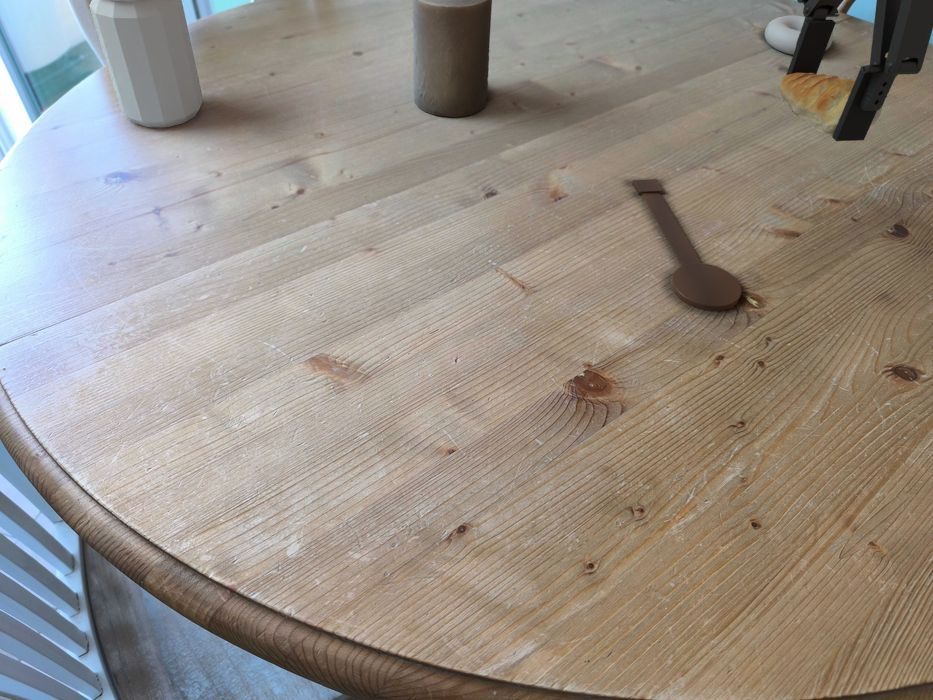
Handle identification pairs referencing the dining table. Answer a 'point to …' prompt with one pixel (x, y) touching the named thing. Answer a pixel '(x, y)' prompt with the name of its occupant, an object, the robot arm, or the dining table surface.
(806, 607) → the dining table surface
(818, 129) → the pastry
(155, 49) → the jar
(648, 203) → the spoon
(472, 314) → the dining table surface
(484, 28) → the pillar candle
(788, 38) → the donut
